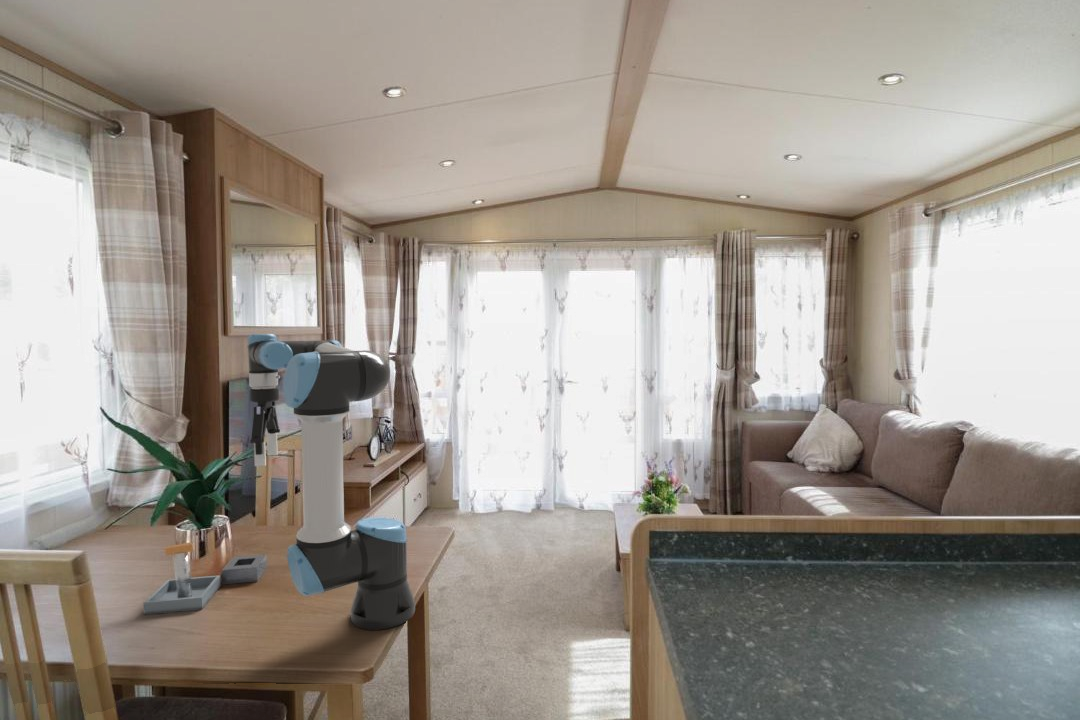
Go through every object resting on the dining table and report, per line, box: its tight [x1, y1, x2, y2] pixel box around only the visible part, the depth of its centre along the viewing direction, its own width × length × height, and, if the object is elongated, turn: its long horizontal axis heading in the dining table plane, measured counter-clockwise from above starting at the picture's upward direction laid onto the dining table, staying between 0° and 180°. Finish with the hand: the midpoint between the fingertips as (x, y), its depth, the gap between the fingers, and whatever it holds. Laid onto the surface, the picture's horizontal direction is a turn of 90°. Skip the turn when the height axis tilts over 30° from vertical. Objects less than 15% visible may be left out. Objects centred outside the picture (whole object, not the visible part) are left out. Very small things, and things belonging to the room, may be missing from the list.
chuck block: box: [221, 554, 268, 585], centre depth 160 cm, size 9×9×4 cm
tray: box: [143, 574, 222, 615], centre depth 146 cm, size 13×13×3 cm
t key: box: [164, 541, 195, 598], centre depth 145 cm, size 6×3×14 cm, turn 110°
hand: (266, 460), depth 164 cm, fingers open, 13 cm apart
